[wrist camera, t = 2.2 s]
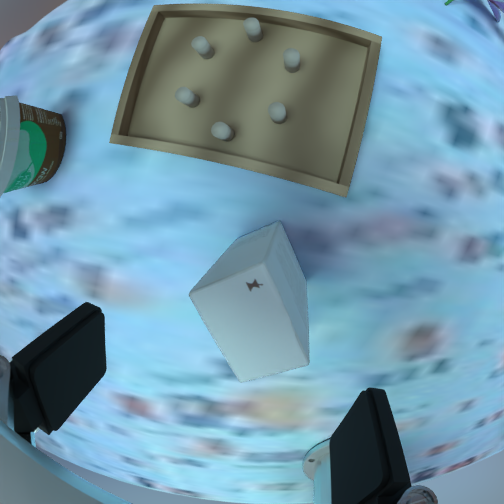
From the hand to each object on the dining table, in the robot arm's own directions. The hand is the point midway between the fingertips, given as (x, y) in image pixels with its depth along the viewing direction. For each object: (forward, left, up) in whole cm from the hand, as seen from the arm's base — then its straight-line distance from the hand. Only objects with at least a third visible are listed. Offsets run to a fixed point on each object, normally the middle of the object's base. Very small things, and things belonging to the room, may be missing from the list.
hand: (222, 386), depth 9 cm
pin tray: (+6, -14, -17) cm, 22 cm away
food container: (+27, -4, -17) cm, 32 cm away
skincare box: (0, 0, -17) cm, 17 cm away
